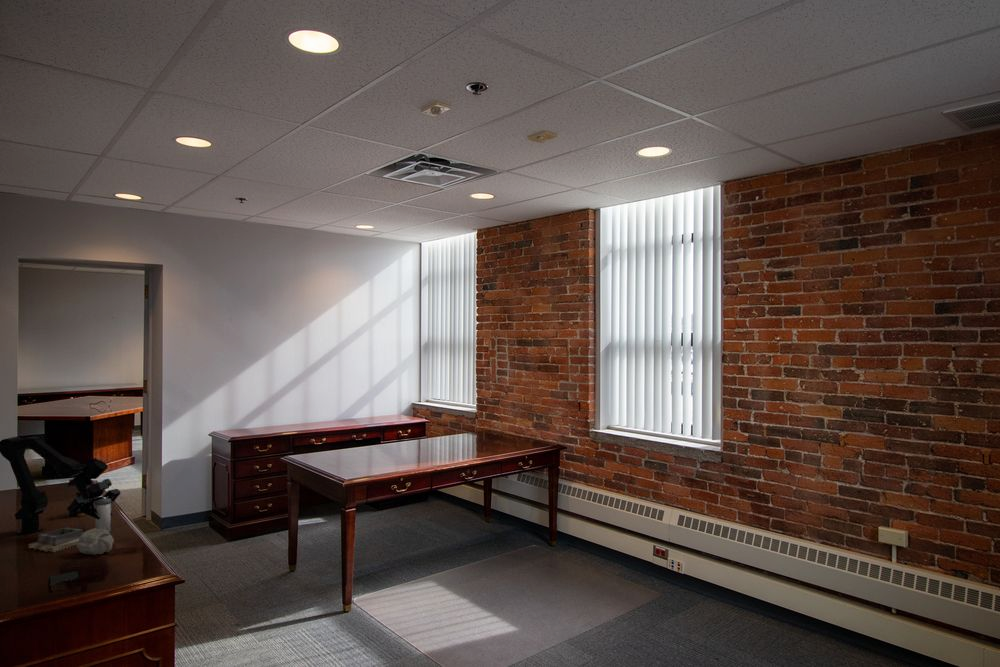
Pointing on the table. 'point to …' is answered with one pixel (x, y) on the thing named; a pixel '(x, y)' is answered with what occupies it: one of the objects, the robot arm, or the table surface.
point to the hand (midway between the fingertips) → (105, 516)
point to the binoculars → (78, 509)
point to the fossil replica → (95, 541)
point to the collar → (57, 539)
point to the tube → (103, 514)
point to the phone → (63, 577)
